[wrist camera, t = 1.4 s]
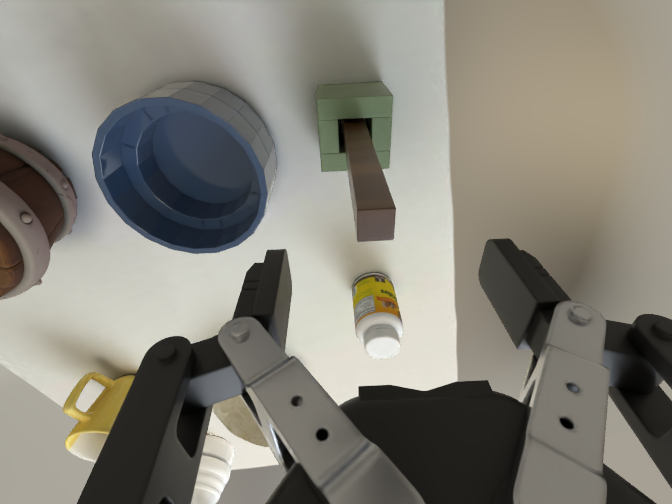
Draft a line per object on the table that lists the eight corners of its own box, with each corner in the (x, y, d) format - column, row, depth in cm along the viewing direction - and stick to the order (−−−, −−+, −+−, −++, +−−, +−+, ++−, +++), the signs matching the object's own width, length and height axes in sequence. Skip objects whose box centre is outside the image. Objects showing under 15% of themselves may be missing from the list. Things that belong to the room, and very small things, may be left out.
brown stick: (341, 107, 32) (357, 209, 15) (360, 106, 32) (395, 207, 15) (341, 127, 33) (357, 242, 16) (360, 126, 33) (393, 240, 16)
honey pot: (219, 430, 67) (189, 547, 52) (244, 457, 74) (224, 567, 59) (160, 438, 68) (115, 555, 53) (190, 465, 75) (158, 573, 61)
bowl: (255, 326, 49) (241, 389, 41) (323, 366, 55) (322, 427, 47) (199, 370, 55) (177, 433, 47) (266, 402, 61) (257, 462, 53)
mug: (178, 397, 59) (153, 461, 51) (124, 403, 60) (91, 468, 52) (139, 349, 51) (102, 415, 43) (78, 357, 52) (30, 424, 44)
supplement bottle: (400, 290, 45) (416, 352, 37) (365, 306, 47) (373, 370, 39) (379, 263, 43) (392, 324, 34) (343, 282, 44) (347, 345, 36)
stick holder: (317, 84, 30) (316, 98, 25) (382, 81, 30) (393, 94, 25) (322, 148, 34) (321, 172, 29) (380, 146, 34) (389, 168, 29)
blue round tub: (111, 84, 30) (57, 102, 24) (265, 75, 30) (249, 92, 24) (164, 217, 38) (134, 257, 32) (285, 211, 38) (277, 249, 32)
